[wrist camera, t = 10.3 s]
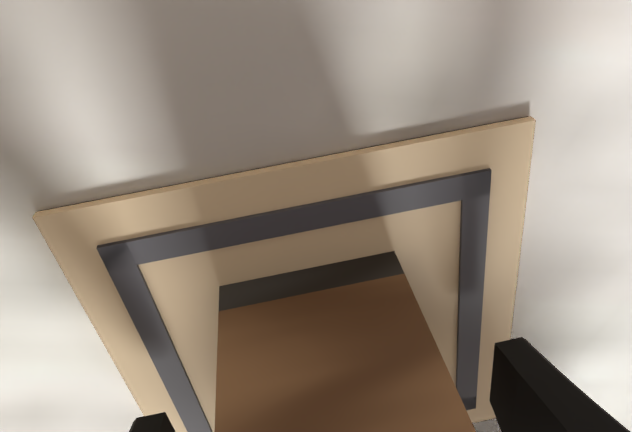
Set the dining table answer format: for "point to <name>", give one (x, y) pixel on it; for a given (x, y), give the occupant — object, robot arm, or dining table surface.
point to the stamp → (331, 354)
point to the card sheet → (302, 254)
